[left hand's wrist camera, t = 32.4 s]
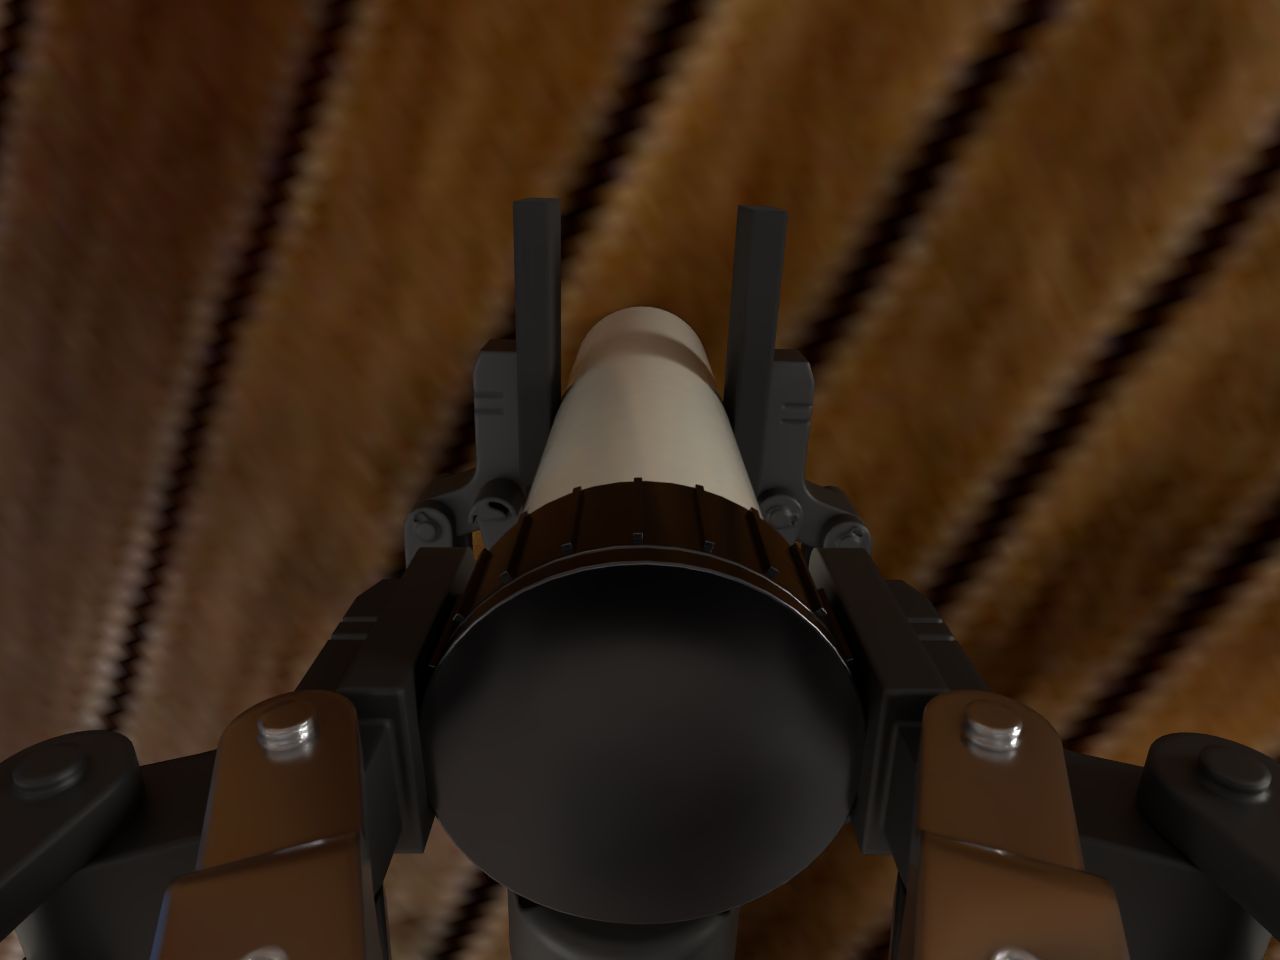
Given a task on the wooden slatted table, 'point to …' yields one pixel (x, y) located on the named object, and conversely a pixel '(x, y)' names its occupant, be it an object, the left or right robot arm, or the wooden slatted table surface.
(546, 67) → the wooden slatted table surface
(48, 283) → the wooden slatted table surface
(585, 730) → the lid
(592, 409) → the cream bottle
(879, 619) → the left robot arm
